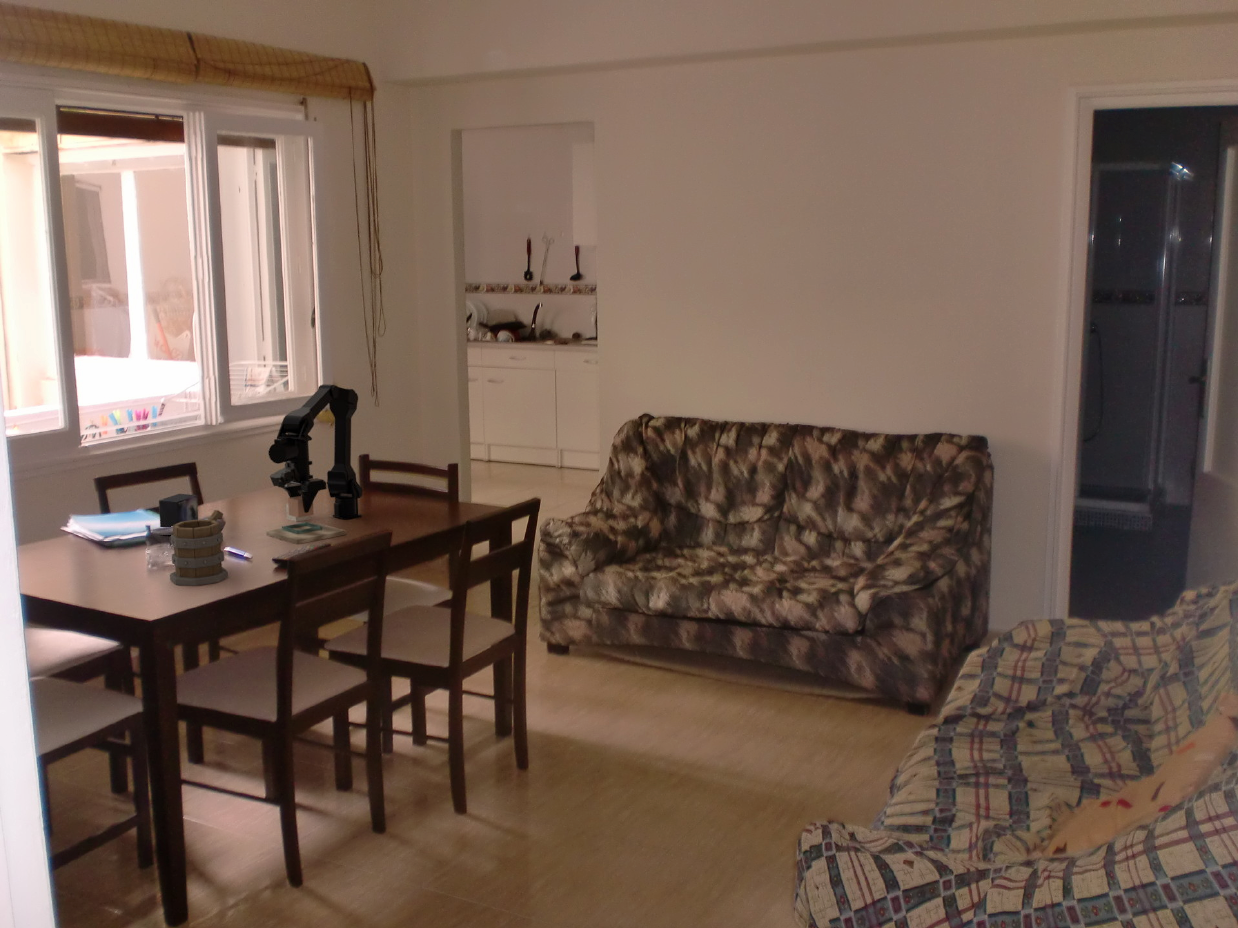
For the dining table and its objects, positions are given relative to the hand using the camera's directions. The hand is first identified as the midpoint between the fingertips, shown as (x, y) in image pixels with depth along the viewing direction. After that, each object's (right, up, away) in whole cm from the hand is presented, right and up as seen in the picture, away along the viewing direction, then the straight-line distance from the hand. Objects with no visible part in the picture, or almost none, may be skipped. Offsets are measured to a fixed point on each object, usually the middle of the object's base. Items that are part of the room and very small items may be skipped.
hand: (301, 511), depth 333 cm
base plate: (+1, -7, 0) cm, 7 cm away
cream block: (-6, -3, +20) cm, 22 cm away
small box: (-36, -7, +3) cm, 37 cm away
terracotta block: (0, -1, 0) cm, 1 cm away
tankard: (-12, -14, -43) cm, 47 cm away
